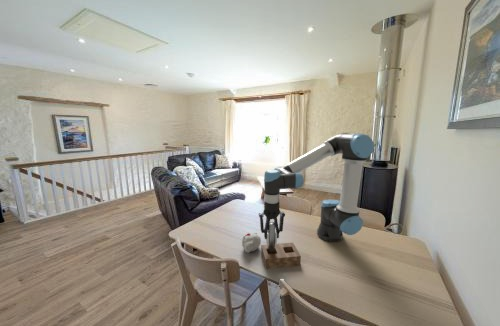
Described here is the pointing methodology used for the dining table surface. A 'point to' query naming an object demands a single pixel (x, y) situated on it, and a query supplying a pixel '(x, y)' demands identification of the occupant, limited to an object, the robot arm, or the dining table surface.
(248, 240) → the white lumpy figurine
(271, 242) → the pin
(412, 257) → the dining table surface
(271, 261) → the bore block
